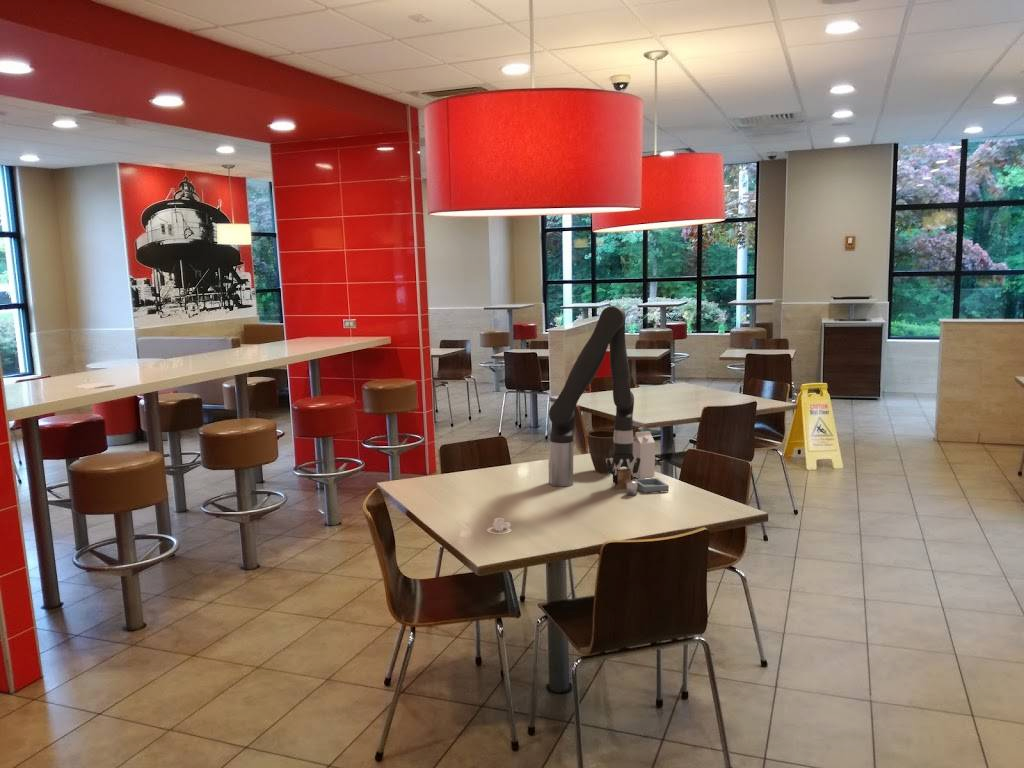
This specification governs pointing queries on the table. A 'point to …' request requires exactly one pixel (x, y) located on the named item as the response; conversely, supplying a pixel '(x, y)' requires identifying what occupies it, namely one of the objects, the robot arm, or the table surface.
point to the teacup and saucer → (500, 526)
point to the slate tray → (651, 485)
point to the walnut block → (623, 478)
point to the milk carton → (644, 454)
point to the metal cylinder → (631, 488)
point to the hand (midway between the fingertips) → (622, 483)
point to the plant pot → (601, 449)
